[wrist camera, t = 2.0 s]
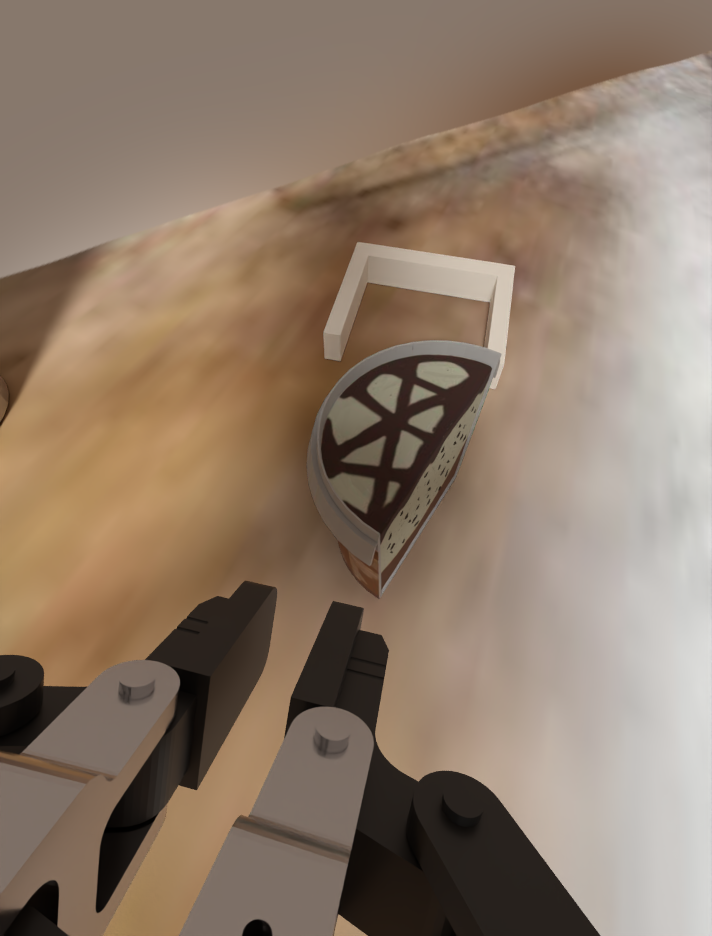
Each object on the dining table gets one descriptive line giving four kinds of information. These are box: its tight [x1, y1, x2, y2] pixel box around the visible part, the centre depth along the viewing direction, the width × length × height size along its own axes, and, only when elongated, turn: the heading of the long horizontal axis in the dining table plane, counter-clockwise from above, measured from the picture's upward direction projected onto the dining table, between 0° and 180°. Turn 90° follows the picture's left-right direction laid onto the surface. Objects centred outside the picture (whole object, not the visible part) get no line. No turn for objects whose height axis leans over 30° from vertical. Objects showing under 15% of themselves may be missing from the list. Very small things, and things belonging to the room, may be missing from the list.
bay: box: [323, 242, 515, 389], centre depth 39 cm, size 12×10×2 cm
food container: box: [307, 340, 501, 599], centre depth 27 cm, size 12×6×10 cm, turn 147°
